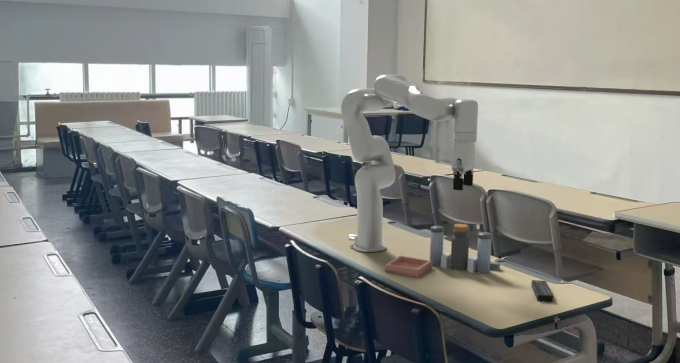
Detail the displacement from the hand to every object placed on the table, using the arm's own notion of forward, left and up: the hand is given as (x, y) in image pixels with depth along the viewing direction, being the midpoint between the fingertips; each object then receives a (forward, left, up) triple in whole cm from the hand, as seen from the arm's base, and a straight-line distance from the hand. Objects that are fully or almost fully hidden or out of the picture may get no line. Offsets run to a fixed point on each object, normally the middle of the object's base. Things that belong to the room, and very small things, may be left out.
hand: (463, 187), depth 230 cm
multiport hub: (+31, -12, -29) cm, 44 cm away
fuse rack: (0, +2, -28) cm, 28 cm away
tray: (-14, -11, -28) cm, 33 cm away
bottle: (0, 0, -28) cm, 28 cm away
